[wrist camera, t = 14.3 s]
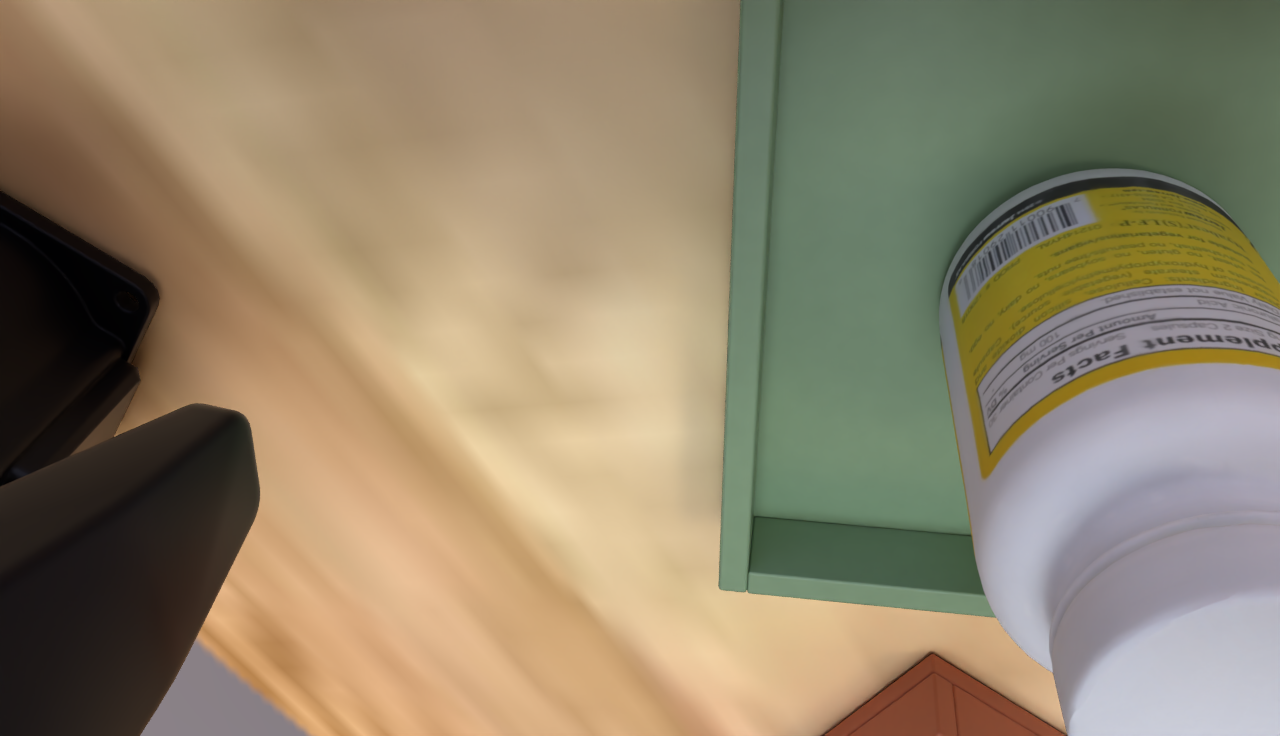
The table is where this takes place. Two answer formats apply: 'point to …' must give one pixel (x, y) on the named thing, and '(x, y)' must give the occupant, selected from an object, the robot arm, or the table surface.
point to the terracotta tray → (940, 708)
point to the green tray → (932, 243)
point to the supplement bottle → (1124, 449)
